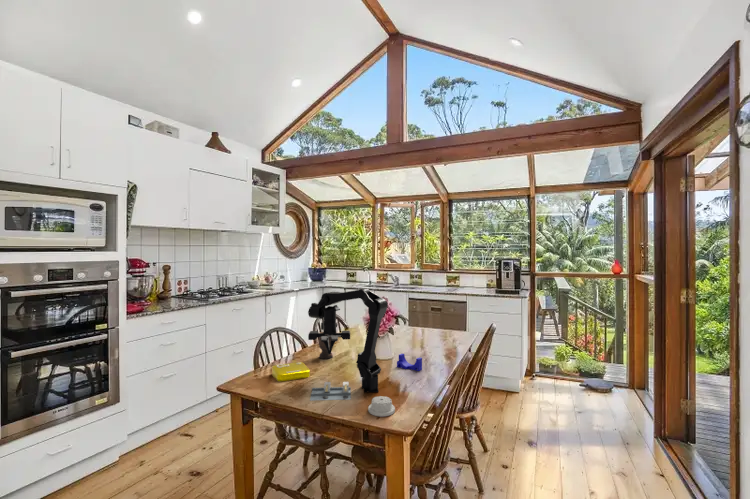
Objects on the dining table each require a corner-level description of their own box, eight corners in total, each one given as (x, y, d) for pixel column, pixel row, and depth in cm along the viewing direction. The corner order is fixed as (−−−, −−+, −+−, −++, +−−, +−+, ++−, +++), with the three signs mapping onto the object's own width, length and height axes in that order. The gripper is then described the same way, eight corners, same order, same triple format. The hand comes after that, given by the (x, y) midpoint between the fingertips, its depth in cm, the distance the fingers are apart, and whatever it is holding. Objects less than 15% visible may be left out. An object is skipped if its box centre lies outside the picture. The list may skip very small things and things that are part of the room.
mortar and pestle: (341, 356, 209) (341, 320, 208) (336, 360, 200) (336, 323, 200) (321, 354, 212) (322, 318, 211) (315, 359, 203) (316, 322, 203)
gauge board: (350, 390, 161) (350, 379, 161) (350, 401, 149) (350, 390, 149) (312, 390, 160) (312, 380, 160) (309, 402, 148) (309, 391, 148)
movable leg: (330, 390, 158) (330, 381, 158) (329, 398, 150) (329, 389, 150) (324, 390, 158) (324, 382, 158) (323, 398, 150) (323, 389, 149)
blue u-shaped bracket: (396, 367, 191) (396, 355, 191) (401, 365, 195) (402, 353, 195) (417, 372, 184) (417, 360, 184) (421, 369, 187) (422, 357, 187)
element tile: (277, 385, 167) (277, 374, 167) (271, 374, 180) (271, 364, 180) (310, 380, 173) (310, 369, 173) (302, 370, 187) (302, 360, 187)
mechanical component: (400, 410, 142) (379, 403, 148) (400, 398, 142) (379, 392, 148) (383, 420, 134) (362, 412, 141) (383, 407, 134) (362, 400, 141)
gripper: (350, 316, 180) (350, 348, 181) (310, 316, 179) (310, 349, 179) (350, 321, 169) (350, 355, 169) (308, 321, 168) (308, 356, 168)
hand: (329, 354), depth 172 cm, fingers closed
